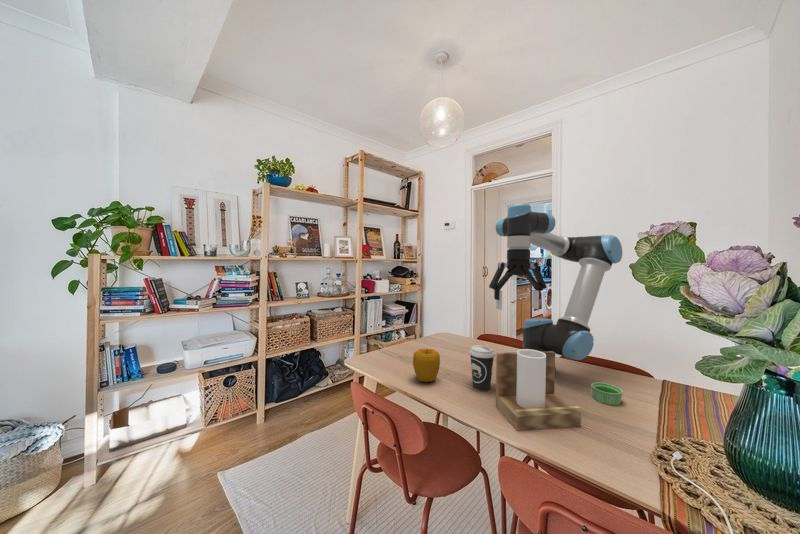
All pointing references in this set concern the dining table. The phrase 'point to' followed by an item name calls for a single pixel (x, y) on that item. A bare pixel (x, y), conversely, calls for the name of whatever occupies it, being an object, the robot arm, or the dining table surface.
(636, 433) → the dining table surface
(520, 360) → the cup
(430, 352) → the apple
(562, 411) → the shelf
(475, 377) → the coffee cup
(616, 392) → the ramekin
